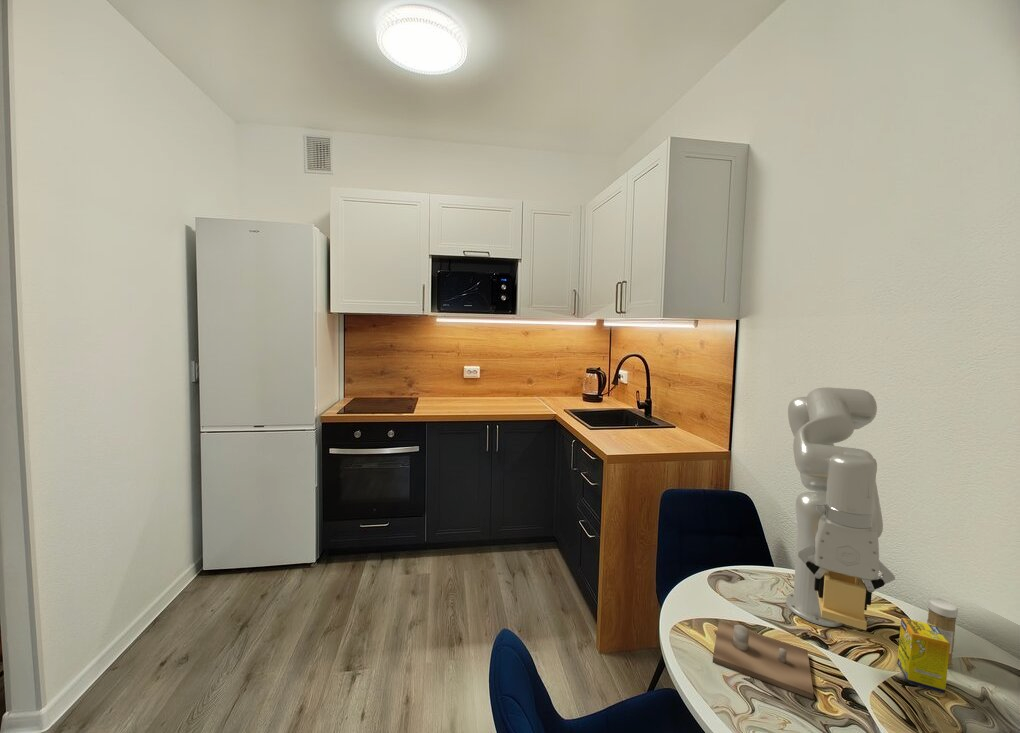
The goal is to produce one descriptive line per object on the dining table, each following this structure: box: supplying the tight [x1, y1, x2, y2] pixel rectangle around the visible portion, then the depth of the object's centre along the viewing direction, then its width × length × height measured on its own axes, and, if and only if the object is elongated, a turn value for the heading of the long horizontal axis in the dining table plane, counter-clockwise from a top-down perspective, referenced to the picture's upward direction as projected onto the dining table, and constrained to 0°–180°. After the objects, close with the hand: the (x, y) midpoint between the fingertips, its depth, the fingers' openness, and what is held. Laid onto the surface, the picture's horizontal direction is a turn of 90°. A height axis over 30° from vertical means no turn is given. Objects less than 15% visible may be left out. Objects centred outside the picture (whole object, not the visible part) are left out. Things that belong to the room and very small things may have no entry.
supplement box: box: [896, 617, 950, 694], centre depth 89 cm, size 6×6×11 cm
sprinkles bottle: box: [926, 597, 959, 668], centre depth 94 cm, size 5×5×14 cm
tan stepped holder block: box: [817, 570, 868, 631], centre depth 90 cm, size 16×7×8 cm, turn 148°
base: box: [712, 620, 814, 700], centre depth 94 cm, size 14×18×5 cm
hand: (841, 599), depth 87 cm, fingers closed on tan stepped holder block, 6 cm apart
